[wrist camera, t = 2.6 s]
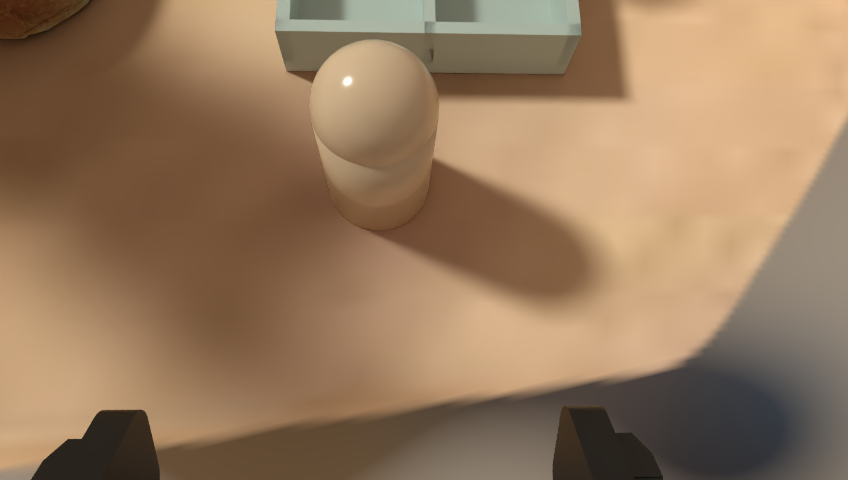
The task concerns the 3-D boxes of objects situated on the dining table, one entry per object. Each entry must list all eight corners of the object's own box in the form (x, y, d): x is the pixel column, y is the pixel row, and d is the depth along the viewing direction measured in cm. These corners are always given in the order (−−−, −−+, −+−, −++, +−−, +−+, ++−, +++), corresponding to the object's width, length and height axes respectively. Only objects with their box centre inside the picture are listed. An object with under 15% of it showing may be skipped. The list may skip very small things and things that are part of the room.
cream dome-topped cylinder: (310, 199, 29) (272, 93, 20) (362, 121, 31) (348, -12, 21) (396, 248, 29) (398, 161, 20) (446, 167, 30) (468, 50, 21)
